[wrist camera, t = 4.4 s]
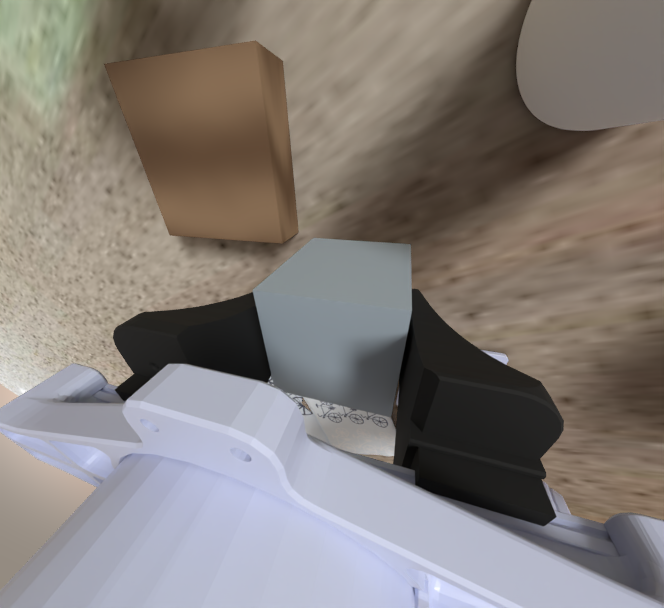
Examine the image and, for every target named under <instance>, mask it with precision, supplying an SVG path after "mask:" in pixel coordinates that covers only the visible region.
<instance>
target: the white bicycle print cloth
mask: <svg viewBox="0 0 664 608" xmlns="http://www.w3.org/2000/svg"><path fill="white" fill-rule="evenodd" d="M268 384H270V385H273V386H274V384H273V379H272V375H271V376H270V379H269V381H268ZM286 394H288V395H289V396H290V397H291V398H292V399H294V400H295V402H296V404H297V406H298V407H299V409H300V411H301V413H302V415H303V417H304V423H305V431H306V433H307V434H309V435H311V436H313V437H316V438H318V439H320V440H322V441H324V442H326V443H328V444H330V445H332V446H334V447H336V448H339V449H341V450H344V451H348V452H351V453H355V454H373V455H383V456H394V450H395V437H396V429H395V426H394V424H393V421H392V419H391V417H387V416H382V415H378V414H374V413H370V412H366V411H361V410H357V409H353V408H349V407H344V406H340V405H336V404H332V403H328V402H323V401H319V400H315V399H311V398H306V397H302V396H298V395H294V394H290V393H286ZM302 398H304V400H305V401H306V403H307V404H308V406H309V408H310V409H311V411H312V412H311V411H309V410H308V409H306V408H305V406H304V405H302V403H301V402H302V401H303V400H302Z"/></svg>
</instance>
